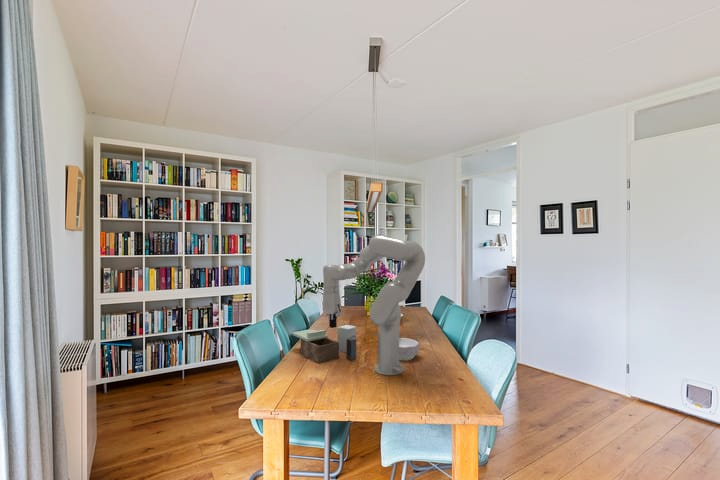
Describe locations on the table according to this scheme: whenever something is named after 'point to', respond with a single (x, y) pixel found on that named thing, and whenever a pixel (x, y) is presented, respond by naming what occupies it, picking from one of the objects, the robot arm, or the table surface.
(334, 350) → the box
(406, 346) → the paper bowls
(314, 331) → the lid
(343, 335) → the supplement box
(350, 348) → the dark grey tall block
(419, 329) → the table surface
